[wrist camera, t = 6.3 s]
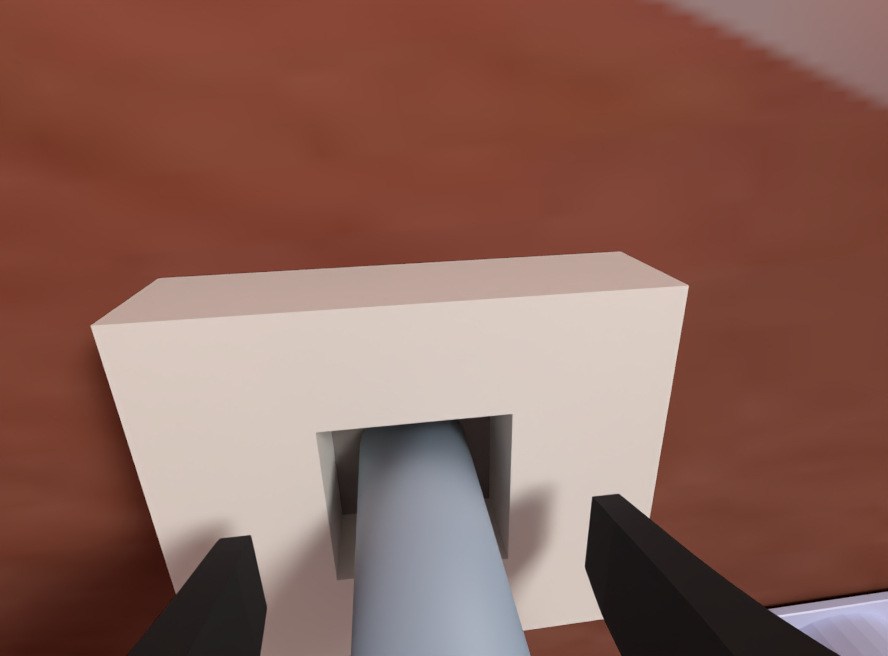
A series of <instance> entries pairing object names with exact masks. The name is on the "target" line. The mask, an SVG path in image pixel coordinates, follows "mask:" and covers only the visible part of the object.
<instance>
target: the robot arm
mask: <svg viewBox="0 0 888 656" xmlns="http://www.w3.org/2000/svg"><path fill="white" fill-rule="evenodd" d="M585 570H586V573H587V575H588V578H589V581H590V584H591V587H592V590H593V593H594V595H595V598H596V601H597V603H598V606H599V609H600V611H601V614H602V616H603V618H604V621H605V623H606V625H607V627H608V629H609V631H610V633H611V635H612V637H613V639H614V641H615V643H616V645H617V647H618V649H619V651H620V654H621V656H888V591H886V592H879V593H873V594H866V595H859V596H852V597H846V598H839V599H832V600H826V601H819V602H812V603H805V604H799V605H792V606H785V607H778V608H772V609H767V608H765V607H764V606H763V605H761V604H760V603H758V602H757V601H756V600H754V599H753V598H751V597H750V596H749V595H747V594H746V593H744V592H743V591H742V590H740V589H739V588H737V587H736V586H735V585H733V584H732V583H730V582H729V581H728V580H726V579H725V578H724V577H722V576H721V575H720V574H718V573H717V572H716V571H714V570H713V569H712V568H711V567H709V566H708V565H707V564H705V563H704V562H703V561H701V560H700V559H699V558H698V557H696V556H695V555H694V554H693V553H691V552H690V551H689V550H687V549H686V548H685V547H684V546H682V545H681V544H680V543H679V542H677V541H676V540H675V539H674V538H673V537H671V536H670V535H669V534H668V533H666V532H665V531H664V530H663V529H662V528H660V527H659V526H658V525H657V524H655V523H654V522H653V521H652V520H651V519H649V518H648V517H647V516H646V515H645V514H643V513H642V512H641V511H640V510H639V509H637V508H636V507H635V506H634V505H632V504H631V503H630V502H629V501H628V500H626V499H625V498H624V497H623V496H621V495H620V494H610V495H602V496H593V497H592V502H591V512H590V521H589V530H588V539H587V549H586V558H585ZM266 613H267V604H266V600H265V595H264V591H263V586H262V582H261V577H260V573H259V568H258V564H257V559H256V555H255V550H254V546H253V541H252V537H251V535H246V536H237V537H228V538H220V539H219V540H218V541H217V542H216V543H215V544H214V546H213V547H212V548H211V550H210V551H209V552H208V553H207V555H206V556H205V557H204V559H203V560H202V561H201V563H200V564H199V565H198V567H197V568H196V569H195V571H194V572H193V573H192V574H191V576H190V577H189V578H188V580H187V581H186V582H185V584H184V585H183V586H182V587H181V589H180V590H179V591H178V593H177V594H176V595H175V596H174V598H173V599H172V600H171V602H170V603H169V604H168V605H167V607H166V608H165V609H164V610H163V612H162V613H161V614H160V615H159V616H158V618H157V619H156V620H155V621H154V623H153V624H152V625H151V626H150V628H149V629H148V630H147V631H146V633H145V634H144V635H143V636H142V638H141V639H140V640H139V641H138V642H137V644H136V645H135V646H134V647H133V648H132V650H131V651H130V652H129V653H128V654H127V655H126V656H260V654H261V648H262V641H263V635H264V627H265V620H266Z"/></svg>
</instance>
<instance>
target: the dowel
mask: <svg viewBox="0 0 888 656" xmlns="http://www.w3.org/2000/svg"><path fill="white" fill-rule="evenodd" d="M351 656H530V653H529V649H528V646H527V643H526V639H525V636H524V632H523V629H522V626H521V622H520V619H519V616H518V612H517V609H516V605H515V602H514V599H513V595H512V592H511V589H510V585H509V582H508V578H507V575H506V572H505V568H504V565H503V562H502V558H501V555H500V551H499V548H498V545H497V541H496V538H495V534H494V531H493V528H492V524H491V521H490V518H489V514H488V511H487V507H486V504H485V501H484V497H483V494H482V491H481V487H480V484H479V480H478V477H477V474H476V470H475V467H474V463H473V460H472V457H471V453H470V450H469V447H468V443H467V440H466V436H465V433H464V430H463V427H462V425H461V424H460V422H459V421H458V419H453V420H443V421H432V422H422V423H411V424H400V425H390V426H379V427H369V428H365V430H364V432H363V435H362V437H361V441H360V453H359V476H358V499H357V522H356V546H355V569H354V592H353V615H352V639H351Z"/></svg>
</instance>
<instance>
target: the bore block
mask: <svg viewBox="0 0 888 656" xmlns="http://www.w3.org/2000/svg"><path fill="white" fill-rule="evenodd" d="M688 287H689V285H687V284H685V283H683V282H681V281H679V280H677V279H675V278H673V277H671V276H669V275H667V274H665V273H662V272H660V271H658V270H656V269H654V268H652V267H650V266H648V265H646V264H644V263H642V262H640V261H638V260H636V259H634V258H632V257H630V256H628V255H626V254H624V253H622V252H603V253H586V254H569V255H552V256H534V257H517V258H500V259H482V260H465V261H448V262H431V263H413V264H396V265H379V266H362V267H344V268H327V269H310V270H293V271H275V272H258V273H241V274H223V275H206V276H189V277H172V278H158V279H157V280H155V281H154V282H153V283H151V284H150V285H148V286H147V287H145V288H144V289H143V290H141V291H140V292H138V293H137V294H135V295H134V296H133V297H131V298H130V299H128V300H127V301H125V302H124V303H122V304H121V305H120V306H118V307H117V308H115V309H114V310H112V311H111V312H110V313H108V314H107V315H105V316H104V317H102V318H101V319H100V320H98V321H97V322H95V323H94V324H92V325H91V329H92V332H93V335H94V338H95V341H96V344H97V347H98V351H99V354H100V357H101V360H102V363H103V366H104V369H105V373H106V376H107V379H108V382H109V385H110V388H111V392H112V395H113V398H114V401H115V404H116V407H117V410H118V414H119V417H120V420H121V423H122V426H123V429H124V432H125V436H126V439H127V442H128V445H129V448H130V451H131V455H132V458H133V461H134V464H135V467H136V470H137V473H138V477H139V480H140V483H141V486H142V489H143V492H144V495H145V499H146V502H147V505H148V508H149V511H150V514H151V518H152V521H153V524H154V527H155V530H156V533H157V536H158V540H159V543H160V546H161V549H162V552H163V555H164V558H165V562H166V565H167V568H168V571H169V574H170V577H171V580H172V584H173V587H174V590H175V593H176V594H177V593H178V591H179V590H180V589H181V587H182V586H183V585H184V584H185V582H186V581H187V580H188V578H189V577H190V576H191V574H192V573H193V572H194V571H195V569H196V568H197V567H198V565H199V564H200V563H201V561H202V560H203V559H204V557H205V556H206V555H207V553H208V552H209V551H210V550H211V548H212V547H213V546H214V544H215V543H216V542H217V541H218V540H219V539H220V538H228V537H237V536H246V535H251V537H252V541H253V546H254V550H255V555H256V559H257V564H258V568H259V573H260V577H261V582H262V586H263V591H264V595H265V600H266V604H267V613H266V620H265V627H264V635H263V641H262V648H261V654H260V656H351V639H352V615H353V592H354V569H355V546H356V522H357V499H358V476H359V453H360V441H361V437H362V435H363V432H364V430H365V428H369V427H379V426H390V425H400V424H411V423H422V422H432V421H443V420H453V419H458V421H459V422H460V424H461V425H462V427H463V430H464V433H465V436H466V440H467V443H468V447H469V450H470V453H471V457H472V460H473V463H474V467H475V470H476V474H477V477H478V480H479V484H480V487H481V491H482V494H483V497H484V501H485V504H486V507H487V511H488V514H489V518H490V521H491V524H492V528H493V531H494V534H495V538H496V541H497V545H498V548H499V551H500V555H501V558H502V562H503V565H504V568H505V572H506V575H507V578H508V582H509V585H510V589H511V592H512V595H513V599H514V602H515V605H516V609H517V612H518V616H519V619H520V622H521V626H522V629H523V631H524V630H531V629H538V628H545V627H551V626H558V625H565V624H572V623H579V622H586V621H593V620H600V619H604V618H603V616H602V614H601V611H600V609H599V606H598V603H597V601H596V598H595V595H594V593H593V590H592V587H591V584H590V581H589V578H588V575H587V573H586V570H585V558H586V549H587V539H588V530H589V521H590V512H591V502H592V497H593V496H602V495H610V494H620V495H621V496H623V497H624V498H625V499H626V500H628V501H629V502H630V503H631V504H632V505H634V506H635V507H636V508H637V509H639V510H640V511H641V512H642V513H643V514H645V515H646V516H647V517H648V518H650V512H651V506H652V500H653V494H654V489H655V483H656V477H657V471H658V465H659V459H660V453H661V447H662V441H663V435H664V429H665V423H666V417H667V411H668V406H669V400H670V394H671V388H672V382H673V376H674V370H675V364H676V358H677V352H678V346H679V340H680V334H681V329H682V323H683V317H684V311H685V305H686V299H687V293H688Z"/></svg>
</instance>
